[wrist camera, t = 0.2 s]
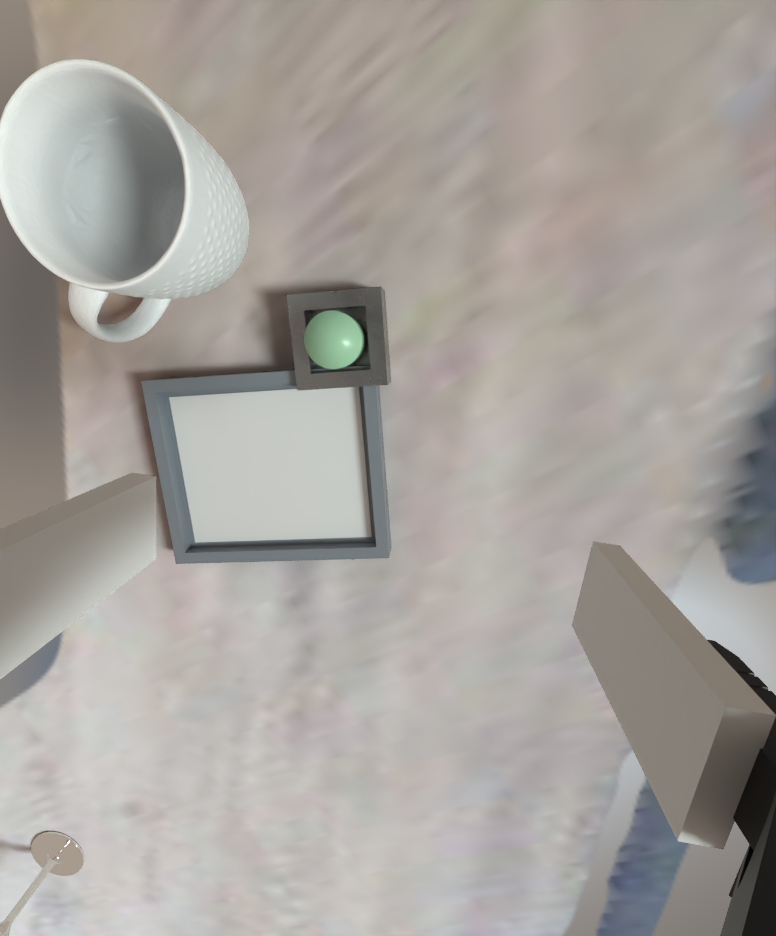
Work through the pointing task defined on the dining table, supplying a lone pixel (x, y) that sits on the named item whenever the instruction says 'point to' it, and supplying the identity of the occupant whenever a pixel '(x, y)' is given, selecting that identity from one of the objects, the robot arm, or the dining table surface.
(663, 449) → the dining table surface
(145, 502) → the robot arm
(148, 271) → the mug
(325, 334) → the button
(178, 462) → the tray
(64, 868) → the wineglass
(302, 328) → the grey square frame
